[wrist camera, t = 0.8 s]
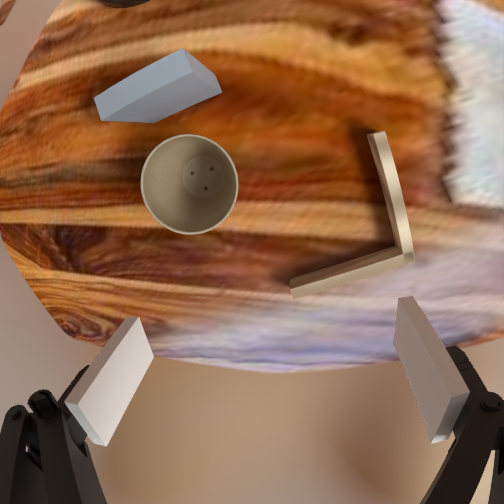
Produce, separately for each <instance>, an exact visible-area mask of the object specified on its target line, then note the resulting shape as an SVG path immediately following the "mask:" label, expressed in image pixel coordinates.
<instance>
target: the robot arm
mask: <svg viewBox="0 0 504 504" xmlns="http://www.w3.org/2000/svg"><path fill="white" fill-rule="evenodd" d="M98 1H100V2H101V3H103V4H105V5H107V6H110V7H116V8H125V7H131V6H136V5H139V4H142V3H145V2H147V1H149V0H98ZM393 344H394V346H395V348H396V351H397V353H398V356H399V358H400V361H401V363H402V366H403V368H404V370H405V373H406V376H407V378H408V381H409V383H410V386H411V388H412V391H413V393H414V396H415V399H416V402H417V405H418V407H419V410H420V413H421V416H422V419H423V421H424V424H425V427H426V430H427V433H428V436H429V439H430V442H431V444H432V443H435V442H439V441H443V440H446V439H448V438H449V436H450V434H451V432H452V430H453V432H454V435H455V440H454V442H453V444H452V445H451V447H450V449H449V451H448V454H447V456H446V458H445V460H444V462H443V464H442V466H441V468H440V470H439V472H438V473H437V475H436V477H435V479H434V481H433V482H432V484H431V486H430V488H429V490H428V491H427V493H426V494H425V496H424V498H423V499H422V501H421V503H420V504H469V503H470V501H471V499H472V497H473V495H474V493H475V491H476V488H477V486H478V484H479V482H480V479H481V477H482V474H483V471H484V469H485V467H486V464H487V462H488V459H489V456H490V453H491V450H495V459H494V468H493V476H492V483H491V490H490V496H489V502H488V504H504V400H502V398H501V397H500V396H499V395H498V394H496V393H494V392H488V391H487V389H486V387H485V385H484V384H483V382H482V380H481V379H480V377H479V375H478V374H477V372H476V370H475V369H474V368H473V365H472V364H471V362H469V359H468V357H467V356H466V354H465V353H464V352H463V351H462V350H461V349H459V348H458V347H457V346H452V347H448V348H445V347H444V345H443V343H442V342H441V340H440V338H439V337H438V335H437V333H436V332H435V330H434V329H433V327H432V325H431V324H430V322H429V321H428V319H427V317H426V316H425V314H424V313H423V311H422V310H421V308H420V307H419V305H418V304H417V302H416V301H415V299H414V298H413V296H410V297H403V298H398V308H397V318H396V327H395V335H394V342H393ZM153 358H154V356H153V354H152V351H151V348H150V346H149V343H148V340H147V338H146V335H145V332H144V329H143V327H142V324H141V321H140V318H139V317H127V318H126V319H125V320H124V321H123V323H122V324H121V325H120V327H119V328H118V329H117V330H116V332H115V333H114V334H113V336H112V337H111V338H110V340H109V341H108V342H107V344H106V345H105V346H104V347H103V349H102V350H101V351H100V353H99V354H98V356H97V357H96V358H95V360H94V361H93V362H92V364H91V365H87V366H86V367H85V368H83V369H82V370H81V371H79V373H78V374H77V376H76V377H75V380H73V381H72V382H71V385H69V387H68V388H67V389H66V390H65V392H64V393H63V395H62V396H61V398H60V399H59V400H58V402H57V401H56V400H55V398H54V397H53V395H52V394H51V392H50V391H49V390H44V389H43V390H39V391H37V392H35V393H34V394H32V395H31V397H30V398H29V400H28V405H29V406H30V408H31V409H32V411H33V412H34V413H29V412H28V411H27V410H26V408H25V407H24V406H22V405H16V406H13V407H11V408H10V409H9V410H8V412H7V413H6V415H5V419H4V422H3V425H2V429H1V433H0V504H107V502H106V499H105V497H104V494H103V491H102V488H101V486H100V483H99V480H98V477H97V474H96V471H95V468H94V465H93V462H92V458H91V455H90V452H89V448H88V445H87V443H86V442H85V438H86V437H87V435H88V437H89V438H90V439H91V441H92V442H93V443H95V444H99V445H103V446H107V445H108V443H109V441H110V439H111V437H112V435H113V433H114V431H115V429H116V427H117V425H118V423H119V421H120V420H121V418H122V416H123V414H124V412H125V410H126V408H127V406H128V404H129V402H130V401H131V399H132V397H133V395H134V393H135V391H136V389H137V387H138V385H139V383H140V382H141V380H142V378H143V376H144V374H145V372H146V371H147V369H148V367H149V365H150V363H151V361H152V359H153ZM26 446H27V447H28V452H26Z"/></svg>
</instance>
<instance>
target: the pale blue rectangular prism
mask: <svg viewBox="0 0 504 504" xmlns="http://www.w3.org/2000/svg"><path fill="white" fill-rule="evenodd" d="M220 93H222V91H221V88H220V86H219V83H218V81H217V78H216V76H215V74H213V73H212V72H211V71H210V70H209V69H208V68H206V67H205V66H204V65H203V64H202V63H200V62H199V61H198V60H197V59H196V58H194V57H193V56H192V55H191V54H189V53H188V52H187V51H186V50H184V49H183V48H182V49H180V50H178V51H176V52H174V53H172V54H170V55H168V56H166V57H164V58H162V59H160V60H158V61H156V62H154V63H152V64H150V65H148V66H146V67H145V68H143V69H141V70H139V71H137V72H135V73H134V74H132V75H130V76H128V77H127V78H125V79H123V80H122V81H120V82H118V83H117V84H115V85H113V86H112V87H110V88H109V89H107V90H105V91H104V92H102V93H101V94H99V95H98V96H96V97H95V98H94V100H95V103H96V106H97V109H98V112H99V115H100V118H101V121H125V122H143V123H156V122H158V121H160V120H162V119H164V118H166V117H168V116H170V115H172V114H174V113H176V112H179V111H181V110H183V109H185V108H187V107H190V106H192V105H194V104H196V103H199V102H201V101H203V100H206V99H208V98H210V97H213V96H215V95H218V94H220Z"/></svg>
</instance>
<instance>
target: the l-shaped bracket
mask: <svg viewBox="0 0 504 504" xmlns="http://www.w3.org/2000/svg"><path fill="white" fill-rule="evenodd" d="M366 135H367V138H368V141H369V145H370V148H371V151H372V154H373V158H374V161H375V164H376V168H377V171H378V175H379V179H380V182H381V186H382V190H383V194H384V198H385V202H386V206H387V210H388V214H389V218H390V223H391V227H392V232H393V237H394V241H395V246H393V247H390V248H387V249H384V250H381V251H377V252H374V253H371V254H368V255H365V256H362V257H359V258H356V259H352V260H349V261H346V262H343V263H340V264H336V265H333V266H330V267H327V268H323V269H320V270H317V271H314V272H310V273H307V274H304V275H300V276H297V277H293V278H290V291H291V294H292V297H293V299H296V298H300V297H303V296H307V295H310V294H314V293H317V292H320V291H324V290H327V289H331V288H334V287H337V286H340V285H344V284H347V283H350V282H353V281H356V280H360V279H363V278H366V277H369V276H372V275H375V274H378V273H381V272H384V271H388V270H391V269H394V268H397V267H399V266H402V265H405V264H408V263H411V262H414V261H415V257H414V251H413V245H412V239H411V234H410V229H409V223H408V219H407V214H406V209H405V205H404V200H403V196H402V192H401V187H400V183H399V179H398V175H397V172H396V168H395V164H394V161H393V157H392V153H391V150H390V147H389V143H388V140H387V137H386V133H385V131H378V132H374V133H370V134H366Z"/></svg>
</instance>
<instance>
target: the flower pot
mask: <svg viewBox="0 0 504 504" xmlns="http://www.w3.org/2000/svg"><path fill="white" fill-rule="evenodd" d="M211 167H212V169H210V168H211ZM191 173H193V175H191ZM206 187H208V189H207V188H206ZM141 193H142V197H143V200H144V203H145V205H146V207H147V209H148V211H149V212H150V214H151V215H152V216H153V217H154V218H155V219H156V220H157V221H158V222H159V223H160V224H161V225H163V226H164V227H166V228H167V229H169V230H171V231H174V232H177V233H181V234H200V233H204V232H207V231H210V230H212V229H214V228H215V227H217V226H218V225H220V224H221V223H222V222H223V221H224V220H225V219H226V218H227V217H228V215H229V214H230V212H231V211H232V209H233V207H234V205H235V202H236V199H237V194H238V175H237V171H236V167H235V165H234V163H233V161H232V159H231V157H230V156H229V154H228V153H227V152H226V151H225V150H224V149H223V148H222V147H221V146H220V145H219V144H217V143H216V142H214V141H212V140H210V139H208V138H206V137H203V136H200V135H194V134H182V135H177V136H174V137H171V138H169V139H166V140H165V141H163V142H162V143H160V144H159V145H158V146H156V147H155V148H154V149H153V151H152V152H151V153H150V154H149V156H148V158H147V159H146V161H145V163H144V166H143V169H142V173H141Z"/></svg>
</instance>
